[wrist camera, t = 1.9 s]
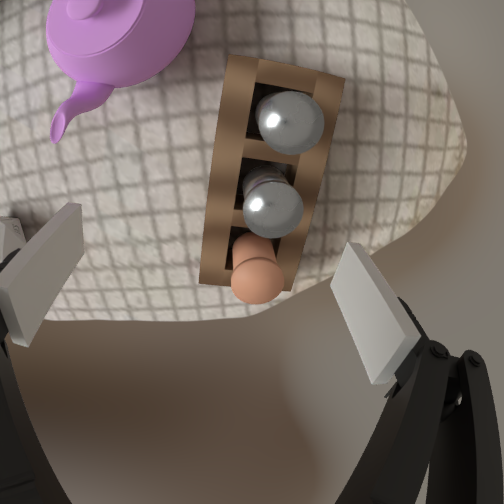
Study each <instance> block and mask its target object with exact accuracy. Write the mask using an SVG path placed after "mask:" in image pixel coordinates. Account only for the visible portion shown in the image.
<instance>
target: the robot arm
mask: <svg viewBox="0 0 504 504" xmlns="http://www.w3.org/2000/svg"><path fill="white" fill-rule="evenodd" d="M83 255H84V241H83V228H82V208H81V204H78V203H69V202H68V203H67V204H66V205H65V206H64V207H63V208H62V209H60V210H59V211H58V212H57V213H56V214H55V215H54V216H53V217H52V218H51V219H50V220H49V221H48V222H47V223H46V224H45V225H44V226H43V227H42V228H41V229H40V230H39V231H38V232H37V233H36V234H35V235H34V236H33V237H32V238H31V239H30V240H29V241H28V242H27V243H26V245H25V246H24V247H23V248H22V249H20V248H18V249H16V250H14V251H13V252H11V253H10V254H8V255H7V257H6V258H5V259H4V260H3V261H2V262H1V263H0V504H72V503H71V502H70V500H69V498H68V497H67V495H66V493H65V492H64V490H63V488H62V486H61V485H60V483H59V481H58V479H57V477H56V475H55V473H54V472H53V469H52V467H51V466H50V464H49V461H48V459H47V457H46V455H45V453H44V451H43V449H42V447H41V444H40V442H39V440H38V438H37V436H36V433H35V431H34V428H33V426H32V423H31V421H30V418H29V416H28V413H27V410H26V407H25V405H24V402H23V399H22V396H21V393H20V390H19V387H18V384H17V381H16V377H15V374H14V370H13V367H12V363H11V359H10V355H9V351H8V347H7V344H6V342H5V340H4V338H5V336H6V334H7V333H8V332H9V334H10V337H11V339H12V341H13V343H16V344H19V345H22V346H25V347H29V345H30V343H31V341H32V339H33V337H34V335H35V334H36V332H37V330H38V328H39V326H40V324H41V323H42V321H43V319H44V317H45V316H46V314H47V312H48V310H49V309H50V307H51V305H52V304H53V302H54V300H55V299H56V297H57V295H58V294H59V292H60V290H61V289H62V287H63V285H64V284H65V282H66V281H67V279H68V278H69V276H70V274H71V273H72V271H73V270H74V268H75V267H76V265H77V264H78V262H79V261H80V259H81V258H82V256H83ZM330 286H331V289H332V291H333V293H334V295H335V297H336V300H337V302H338V304H339V307H340V309H341V311H342V314H343V316H344V318H345V321H346V323H347V325H348V328H349V330H350V332H351V335H352V337H353V339H354V342H355V344H356V347H357V349H358V352H359V354H360V357H361V359H362V362H363V364H364V367H365V369H366V372H367V374H368V377H369V379H370V382H371V384H385V383H388V381H389V380H390V379H391V377H392V376H393V375H394V374H395V376H396V379H397V382H396V383H395V384H394V385H393V387H392V388H391V389H390V390H389V391H388V393H387V394H386V395H385V396H384V397H385V398H387V397H388V396H389V398H388V400H387V403H386V405H385V407H384V410H383V412H382V414H381V417H380V419H379V421H378V423H377V425H376V428H375V430H374V432H373V434H372V436H371V438H370V440H369V443H368V445H367V447H366V449H365V451H364V453H363V455H362V456H361V458H360V460H359V462H358V464H357V466H356V468H355V470H354V471H353V473H352V475H351V477H350V479H349V480H348V482H347V484H346V486H345V487H344V489H343V491H342V493H341V494H340V496H339V497H338V499H337V501H336V502H335V504H415V502H416V499H417V497H418V494H419V491H420V488H421V485H422V483H423V480H424V477H425V474H426V471H427V468H428V464H429V476H428V487H427V496H426V504H503V471H502V457H501V447H500V438H499V430H498V423H497V417H496V411H495V405H494V400H493V395H492V390H491V386H490V381H489V377H488V373H487V368H486V365H485V362H484V360H483V359H482V357H481V356H480V355H479V354H478V353H477V352H474V351H472V350H466V351H465V352H464V353H463V355H462V356H461V357H460V358H458V357H454V356H450V353H449V352H448V350H447V349H446V347H445V346H444V345H442V344H441V343H439V342H437V341H434V340H429V338H428V337H427V335H426V333H425V332H424V330H423V328H422V327H421V325H420V324H419V322H418V321H417V320H416V317H415V316H414V314H412V311H411V310H410V308H409V307H408V305H407V304H406V303H405V302H404V301H403V300H402V299H400V298H399V297H397V296H396V295H395V293H394V292H393V290H392V289H391V287H390V286H389V284H388V283H387V281H386V280H385V279H384V277H383V275H382V274H381V273H380V271H379V270H378V268H377V267H376V265H375V264H374V262H373V261H372V260H371V258H370V257H369V255H368V254H367V252H366V251H365V250H364V248H363V247H362V245H361V244H359V243H353V242H347V244H346V246H345V249H344V252H343V254H342V257H341V260H340V262H339V265H338V267H337V270H336V272H335V275H334V277H333V280H332V282H331V285H330ZM461 396H462V400H461V404H460V405H459V404H458V399H459V398H460V397H461ZM429 461H430V462H429Z"/></svg>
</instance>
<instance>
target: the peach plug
mask: <svg viewBox="0 0 504 504" xmlns="http://www.w3.org/2000/svg"><path fill="white" fill-rule="evenodd" d="M232 252H233V273H232V276H231V288H232V291H233V293H234V294H235V296H236V297H237V298H238V299H240V300H241V301H243V302H246V303H249V304H263V303H266V302H269V301H271V300H273V299H274V298H276V297H277V296H278V295H279V294H280V292H281V291H282V289H283V287H284V276H283V273H282V270H281V268H280V266H279V265H278V264H277V261H276V257H275V254H274V250H273V246H272V243H271V241H270V239H269V238H264V237H261V236H259V235H257V234H255V233H254V232H247V233H244V234H242V235H241V236H239V237H238V238H237V239H236V240H235V242H234V244H233V248H232Z"/></svg>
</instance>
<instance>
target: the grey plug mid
mask: <svg viewBox="0 0 504 504" xmlns="http://www.w3.org/2000/svg"><path fill="white" fill-rule="evenodd" d="M243 193H244V203H243V216H244V220H245V223H246V224H247V226H248V228H249V229H250V230H251V231H252V232H254V233H255V234H257V235H259V236H261V237H264V238H279V237H283V236H285V235H287V234H289V233H291V232H292V231H293V230H294V229H295V228H296V227H297V226H298V225H299V223H300V221H301V219H302V216H303V210H304V208H303V202H302V199H301V197H300V195H299V194H298V192H297V191H296V190H295V188H294V187H292V186H291V185H290V184H289V183H288V181H287V180H286V178H285V176H284V175H283V173H282V172H281V171H280V170H279V169H277V168H275V167H273V166H269V165H262V166H258V167H256V168H254V169H252V170H251V171H250V172H249V173H248V174H247V175H246V177H245V179H244V181H243Z"/></svg>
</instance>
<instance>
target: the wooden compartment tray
mask: <svg viewBox="0 0 504 504" xmlns="http://www.w3.org/2000/svg"><path fill="white" fill-rule="evenodd" d="M255 83H260V84H265V85H271V86H276V87H282V88H287V89H292V90H296V91H301V92H302V93H303V94H306V95H308V96H309V97H311V98H312V99H313V100H314V101H315V102H316V103H317V104H318V105H319V107H320V108H321V110H322V113H323V116H324V130H323V134H322V136H321V138H320V140H319V141H318V142H317V144H316V145H315V146H314V147H312V148H311V149H310V150H308V151H306V152H304V153H301V154H296V155H288V154H282V153H280V152H277V151H275V150H274V149H272V148H271V147H270V146H269V145H268V144H267V143H266V142H265V141H264V139H263V137H262V136H261V134H259V133H253V132H246V130H247V125H248V119H249V113H250V107H251V102H252V96H253V91H254V85H255ZM344 83H345V78H341V77H338V76H334V75H331V74H327V73H323V72H320V71H316V70H312V69H307V68H303V67H299V66H294V65H290V64H285V63H280V62H275V61H270V60H264V59H258V58H252V57H246V56H239V55H232V54H229V55H228V61H227V66H226V72H225V78H224V84H223V90H222V96H221V102H220V109H219V115H218V122H217V128H216V135H215V142H214V149H213V157H212V164H211V172H210V180H209V188H208V196H207V205H206V213H205V222H204V232H203V242H202V252H201V262H200V273H199V284H208V285H219V286H230V287H231V276H232V273H233V252H232V249H228V242H229V236H230V229H231V226H237V227H246V228H248V226H247V224H246V223H245V220H244V216H243V203H244V195H239V194H236V191H237V184H238V178H239V172H240V166H241V160H242V157H246V158H253V159H260V160H266V161H273V162H279V163H285V164H287V167H286V172H285V178H286V180H287V181H288V183H289V184H290V185H291V186H292V187H294V188H295V190H296V191H297V192H298V194H299V195H300V197H301V199H302V202H303V208H304V210H303V216H302V219H301V221H300V223H299V225H298V226H297V227H296V228H295V229H294V230H293V231H292V232H291V233H289V234H287V235H285V236H283V237H279V238H271V240H270V241H271V243H272V246H273V250H274V254H275V257H276V261H277V264H278V265H279V266H280V268H281V270H282V273H283V276H284V287H283V289H282V291H290V292H291V289H292V285H293V282H294V279H295V275H296V272H297V269H298V265H299V262H300V258H301V255H302V251H303V248H304V244H305V241H306V237H307V234H308V230H309V226H310V223H311V219H312V215H313V212H314V208H315V204H316V201H317V197H318V193H319V189H320V185H321V181H322V177H323V174H324V170H325V166H326V162H327V157H328V153H329V149H330V145H331V141H332V137H333V133H334V128H335V124H336V120H337V115H338V111H339V106H340V102H341V97H342V93H343V88H344Z"/></svg>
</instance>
